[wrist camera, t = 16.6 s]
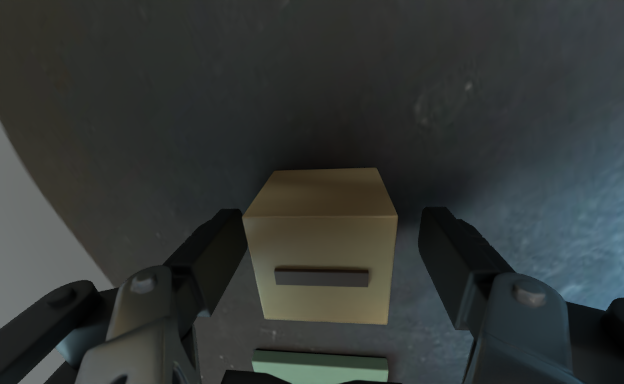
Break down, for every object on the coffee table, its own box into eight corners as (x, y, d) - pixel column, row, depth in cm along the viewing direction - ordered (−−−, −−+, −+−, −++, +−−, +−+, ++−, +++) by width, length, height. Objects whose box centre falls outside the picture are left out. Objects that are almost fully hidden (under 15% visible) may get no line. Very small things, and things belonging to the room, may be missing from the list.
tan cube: (285, 250, 12) (263, 323, 9) (273, 170, 11) (239, 219, 7) (372, 251, 12) (388, 329, 8) (377, 167, 10) (399, 218, 6)
